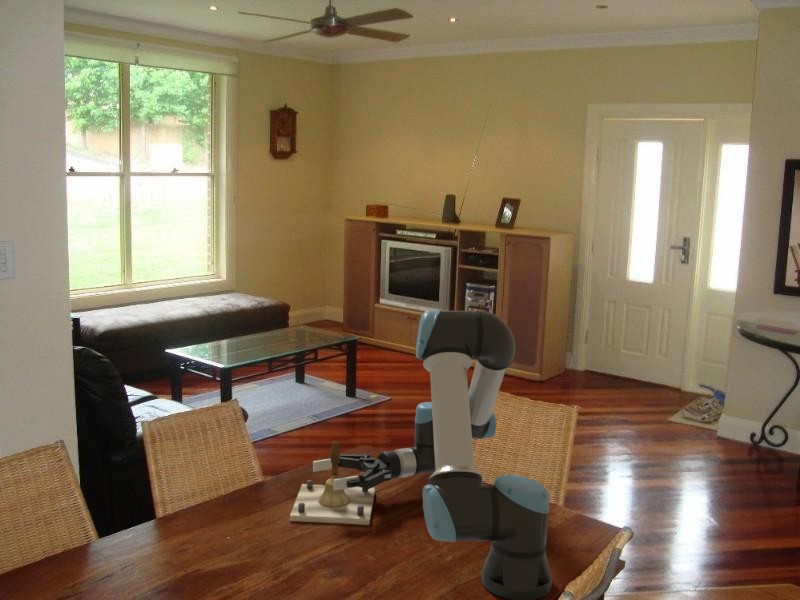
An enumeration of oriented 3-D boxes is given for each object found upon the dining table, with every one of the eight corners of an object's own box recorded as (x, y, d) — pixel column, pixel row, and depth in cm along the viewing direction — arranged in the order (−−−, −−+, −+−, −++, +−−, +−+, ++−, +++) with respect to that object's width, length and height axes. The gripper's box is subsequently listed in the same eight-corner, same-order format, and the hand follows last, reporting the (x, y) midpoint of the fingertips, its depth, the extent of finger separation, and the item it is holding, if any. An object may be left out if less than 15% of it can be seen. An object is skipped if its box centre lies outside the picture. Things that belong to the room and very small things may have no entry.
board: (369, 524, 203) (369, 511, 202) (289, 520, 204) (290, 507, 203) (374, 492, 223) (374, 480, 222) (302, 489, 223) (302, 477, 223)
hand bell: (315, 495, 216) (316, 438, 213) (345, 493, 218) (347, 436, 216) (321, 508, 208) (323, 449, 205) (353, 505, 210) (355, 446, 208)
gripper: (417, 494, 210) (342, 507, 200) (375, 461, 232) (305, 472, 222) (419, 466, 209) (343, 478, 199) (375, 436, 230) (305, 446, 220)
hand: (323, 475), depth 210 cm, fingers open, 13 cm apart
